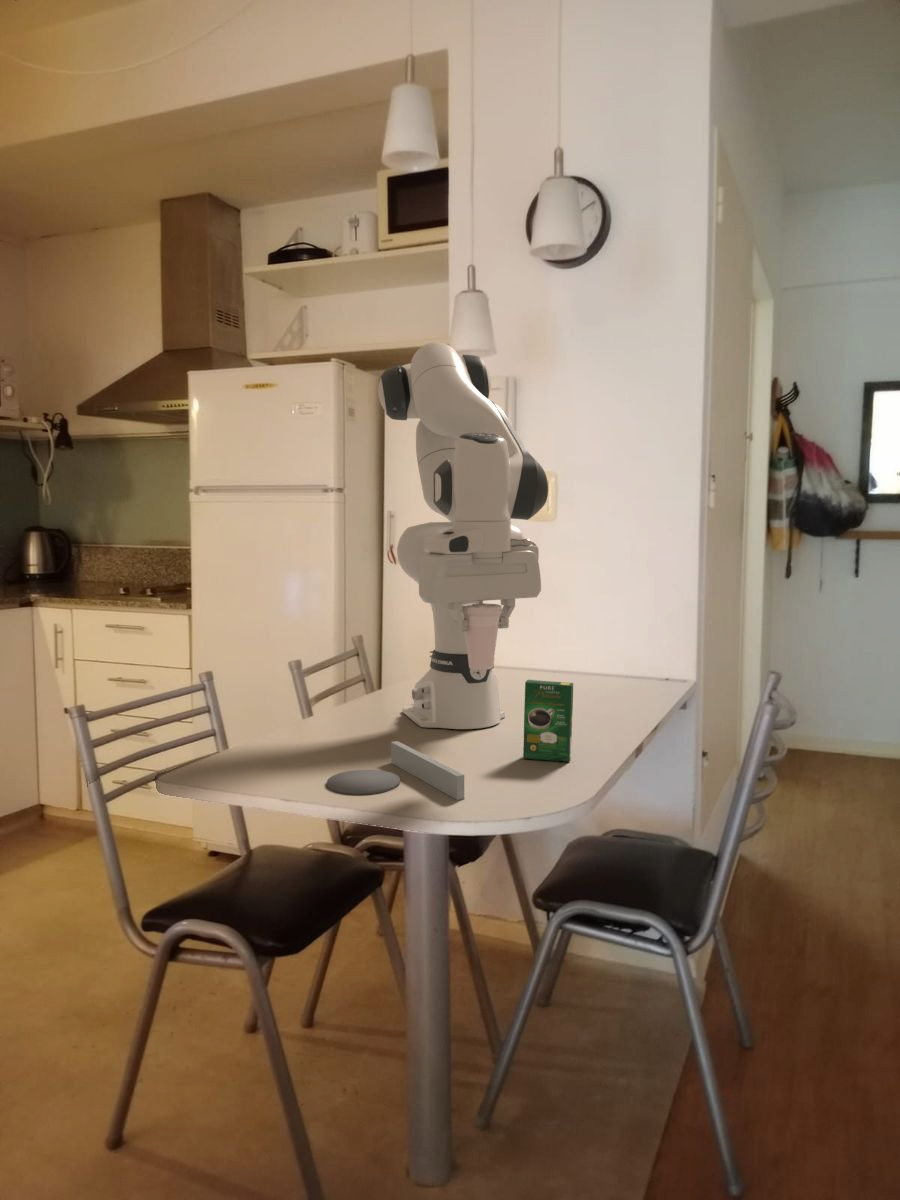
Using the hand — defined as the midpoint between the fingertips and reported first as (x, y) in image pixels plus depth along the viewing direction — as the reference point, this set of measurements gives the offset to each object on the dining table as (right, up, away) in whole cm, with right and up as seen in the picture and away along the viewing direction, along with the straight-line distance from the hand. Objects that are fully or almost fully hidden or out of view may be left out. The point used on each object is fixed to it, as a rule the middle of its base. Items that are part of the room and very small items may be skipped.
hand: (481, 629), depth 139 cm
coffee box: (+11, -22, +11) cm, 27 cm away
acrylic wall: (-9, -23, 0) cm, 25 cm away
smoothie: (0, -6, +1) cm, 6 cm away
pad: (-18, -23, -2) cm, 30 cm away
